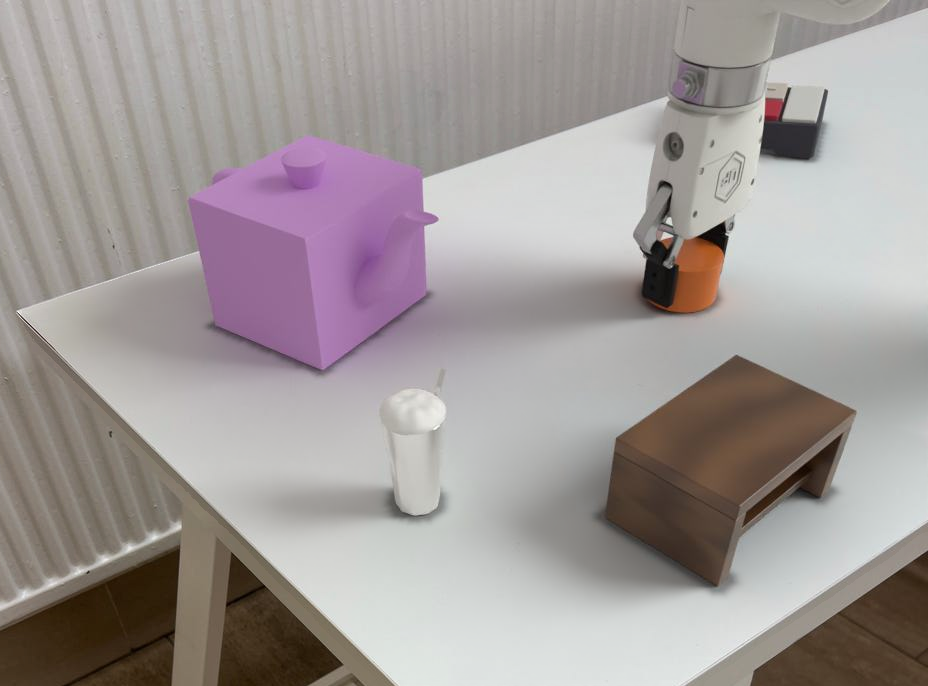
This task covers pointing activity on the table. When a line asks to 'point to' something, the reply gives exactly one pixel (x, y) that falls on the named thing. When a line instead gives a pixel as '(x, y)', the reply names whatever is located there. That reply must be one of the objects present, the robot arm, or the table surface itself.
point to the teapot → (312, 247)
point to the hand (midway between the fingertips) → (681, 285)
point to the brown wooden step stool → (723, 462)
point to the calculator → (792, 119)
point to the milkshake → (415, 446)
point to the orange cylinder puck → (695, 275)
